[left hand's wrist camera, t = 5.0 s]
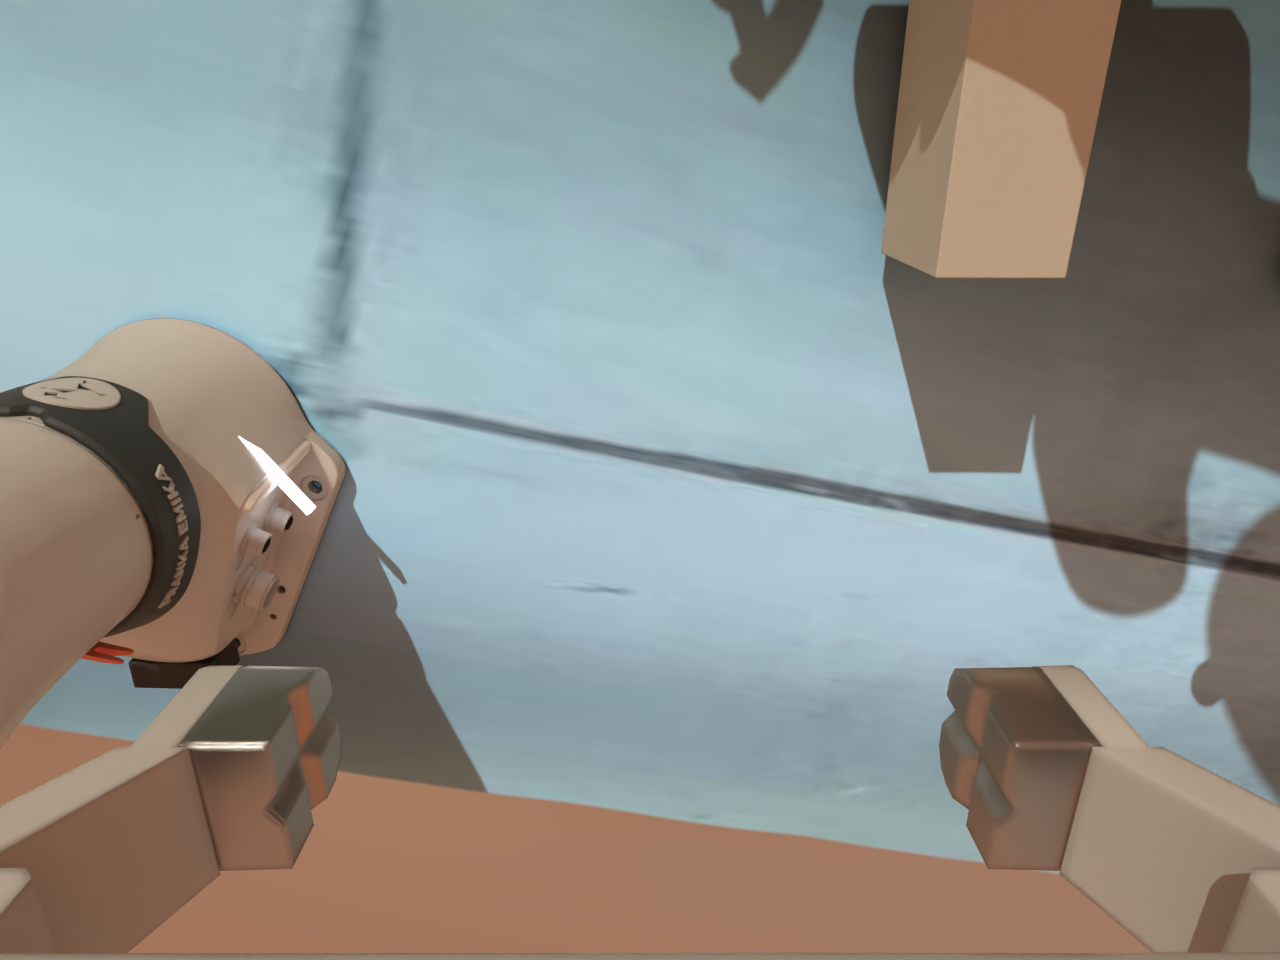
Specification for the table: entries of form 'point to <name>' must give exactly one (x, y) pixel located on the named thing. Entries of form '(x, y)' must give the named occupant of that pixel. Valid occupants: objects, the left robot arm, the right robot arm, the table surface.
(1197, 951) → the left robot arm
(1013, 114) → the bar
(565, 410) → the table surface
